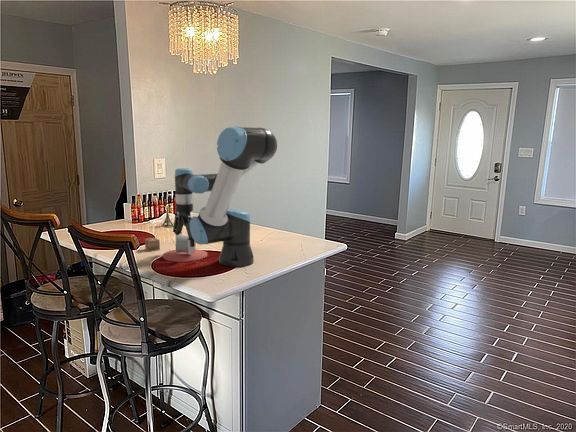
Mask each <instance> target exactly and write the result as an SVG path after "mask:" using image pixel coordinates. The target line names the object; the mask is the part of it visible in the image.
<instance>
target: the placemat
mask: <svg viewBox="0 0 576 432" xmlns="http://www.w3.org/2000/svg"><path fill="white" fill-rule="evenodd" d="M205 257H206V258H207V257H208V252H207V251H206V250H204V249H203V250H202V249H197V248H195V253H192V254H188V252H176V249H172V250H169V251H166V252H164V253H162V259H164V260H166V261H169V262H173V263H174V262H175V263H187V262H188V263H189V262H190V261H192V262H197V261H196V260H198V261H201V260H204V259H205ZM203 258H204V259H203ZM200 259H201V260H200ZM190 263H191V262H190Z"/></svg>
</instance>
